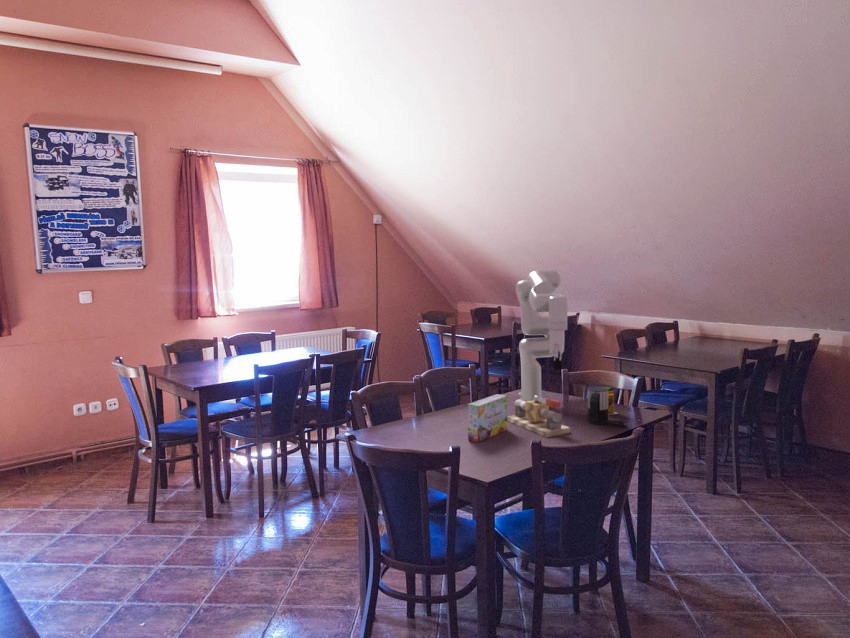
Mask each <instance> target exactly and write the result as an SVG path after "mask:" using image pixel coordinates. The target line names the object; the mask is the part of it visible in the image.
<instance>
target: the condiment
mask: <svg viewBox="0 0 850 638" xmlns="http://www.w3.org/2000/svg"><path fill="white" fill-rule="evenodd" d="M602 387H607V388H609V390H608V416H614V415H616V414H617V415H618V414H619V413H618V412H616V411H615V393H614V387H613V386H609V385H605V386H602Z"/></svg>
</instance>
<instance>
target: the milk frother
mask: <svg viewBox="0 0 850 638" xmlns="http://www.w3.org/2000/svg"><path fill="white" fill-rule="evenodd" d="M608 390H609V388H607V387H603V386H599V385H597V386H595V385H594V386H588V387H587V419H586V422H587V423H589V424H594V425H607V424H618V425H619V426H620V425H622V426H624V424H627V423H628V422H627V421H626V420H624V419H621V418H619V419H618V420H616V419H610V420H609V415H608Z"/></svg>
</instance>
